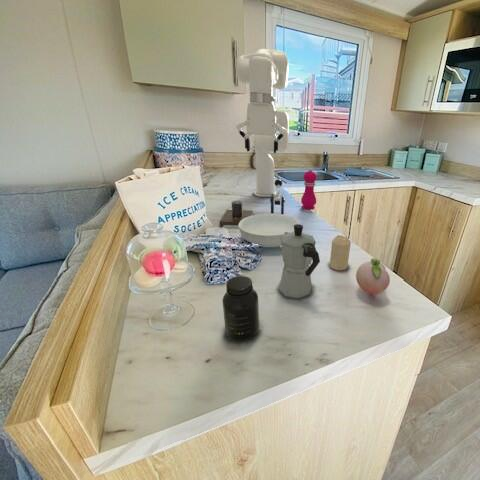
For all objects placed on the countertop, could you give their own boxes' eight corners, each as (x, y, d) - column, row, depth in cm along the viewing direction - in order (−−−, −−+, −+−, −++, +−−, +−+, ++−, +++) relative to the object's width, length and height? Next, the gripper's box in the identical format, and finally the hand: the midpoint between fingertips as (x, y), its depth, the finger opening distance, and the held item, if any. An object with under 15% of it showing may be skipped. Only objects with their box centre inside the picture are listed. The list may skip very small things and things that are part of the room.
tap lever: (274, 183, 117) (274, 177, 114) (282, 183, 117) (282, 177, 115) (273, 205, 109) (273, 199, 107) (281, 205, 110) (281, 199, 107)
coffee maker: (269, 281, 74) (269, 219, 67) (296, 273, 79) (299, 214, 72) (298, 312, 64) (302, 243, 56) (328, 300, 69) (335, 235, 61)
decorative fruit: (351, 282, 77) (355, 251, 73) (379, 283, 78) (385, 252, 74) (357, 303, 69) (362, 269, 64) (389, 304, 69) (396, 270, 65)
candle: (349, 264, 87) (353, 235, 82) (344, 272, 82) (348, 242, 78) (332, 260, 88) (335, 231, 84) (327, 268, 83) (330, 238, 79)
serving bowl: (269, 225, 111) (269, 209, 108) (310, 240, 100) (312, 223, 97) (226, 241, 95) (225, 222, 92) (270, 261, 84) (270, 241, 82)
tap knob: (233, 213, 112) (232, 200, 110) (243, 214, 113) (242, 200, 111) (231, 217, 109) (230, 203, 106) (241, 217, 109) (241, 203, 107)
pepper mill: (313, 213, 128) (316, 170, 120) (298, 211, 129) (300, 168, 121) (317, 208, 135) (320, 167, 126) (302, 206, 136) (304, 165, 127)
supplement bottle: (229, 318, 60) (225, 272, 55) (260, 318, 61) (260, 272, 56) (221, 342, 54) (216, 292, 49) (257, 342, 55) (255, 292, 50)
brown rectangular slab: (227, 215, 118) (226, 209, 116) (253, 216, 119) (253, 210, 118) (220, 227, 105) (219, 221, 104) (249, 228, 106) (249, 222, 105)
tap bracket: (267, 218, 118) (267, 191, 113) (288, 218, 119) (289, 192, 114) (265, 228, 107) (264, 199, 102) (288, 229, 108) (289, 200, 103)
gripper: (286, 102, 98) (285, 152, 105) (237, 98, 96) (239, 149, 103) (286, 101, 92) (285, 154, 99) (233, 97, 90) (235, 151, 97)
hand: (261, 151), depth 101 cm, fingers open, 9 cm apart
